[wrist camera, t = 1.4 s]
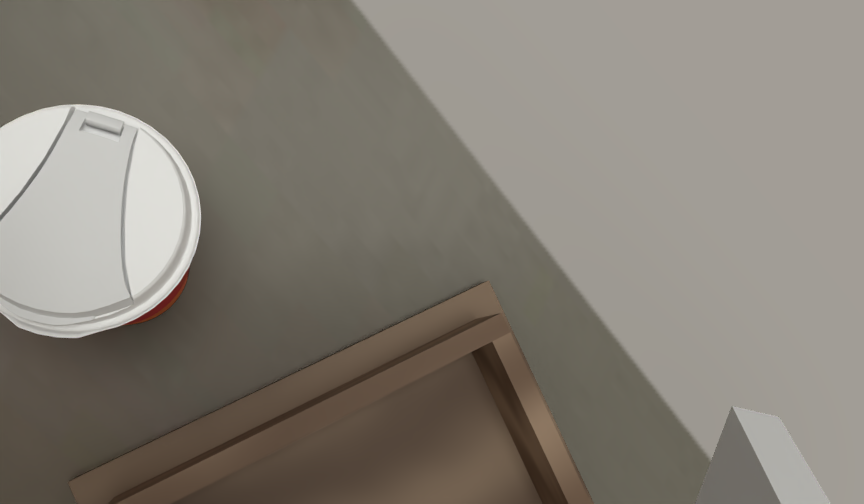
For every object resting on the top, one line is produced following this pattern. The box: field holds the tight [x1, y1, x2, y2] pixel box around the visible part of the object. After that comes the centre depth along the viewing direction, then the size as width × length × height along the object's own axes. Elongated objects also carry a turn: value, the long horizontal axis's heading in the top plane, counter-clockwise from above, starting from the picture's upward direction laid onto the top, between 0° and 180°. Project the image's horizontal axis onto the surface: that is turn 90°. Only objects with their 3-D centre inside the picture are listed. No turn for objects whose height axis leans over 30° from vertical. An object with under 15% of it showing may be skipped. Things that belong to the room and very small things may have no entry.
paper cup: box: [0, 104, 201, 338], centre depth 32 cm, size 8×8×14 cm
